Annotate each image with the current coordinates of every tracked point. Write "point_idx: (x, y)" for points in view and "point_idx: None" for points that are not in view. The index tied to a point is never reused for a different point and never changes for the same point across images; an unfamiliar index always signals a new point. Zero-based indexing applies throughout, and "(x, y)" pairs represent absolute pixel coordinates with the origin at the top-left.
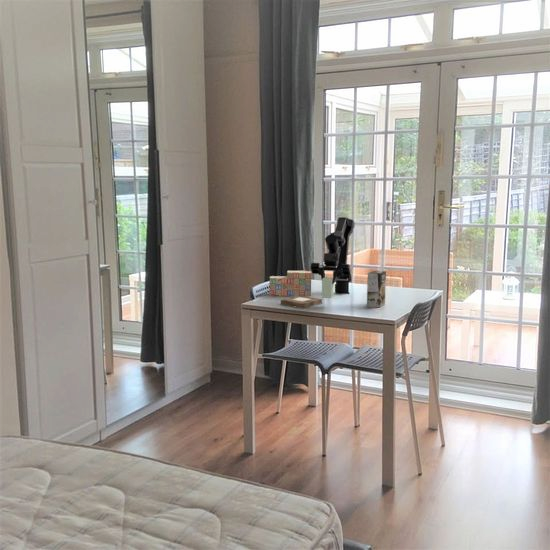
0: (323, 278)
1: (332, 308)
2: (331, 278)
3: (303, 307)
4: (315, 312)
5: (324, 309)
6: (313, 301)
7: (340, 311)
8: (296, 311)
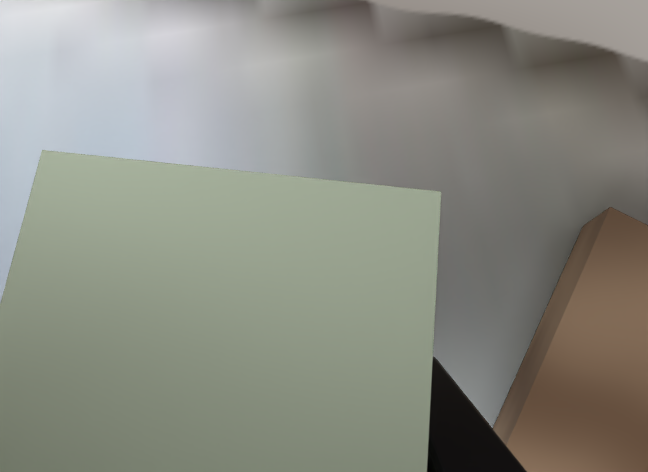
0: (398, 307)
1: None
2: (37, 375)
3: (589, 224)
4: (385, 40)
5: None
6: (516, 423)
7: (92, 136)
8: (612, 50)
